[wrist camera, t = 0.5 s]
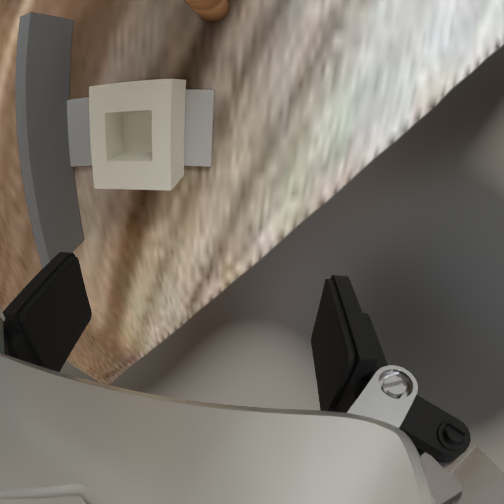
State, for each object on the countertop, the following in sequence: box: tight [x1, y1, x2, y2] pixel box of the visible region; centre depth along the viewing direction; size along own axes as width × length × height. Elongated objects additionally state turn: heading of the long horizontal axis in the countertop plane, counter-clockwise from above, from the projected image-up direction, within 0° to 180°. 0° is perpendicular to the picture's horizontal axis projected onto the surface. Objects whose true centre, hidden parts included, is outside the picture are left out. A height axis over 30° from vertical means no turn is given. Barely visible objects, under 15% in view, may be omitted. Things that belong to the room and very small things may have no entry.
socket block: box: [89, 79, 186, 191], centre depth 27 cm, size 10×8×5 cm
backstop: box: [16, 12, 215, 268], centre depth 26 cm, size 28×18×8 cm, turn 176°
